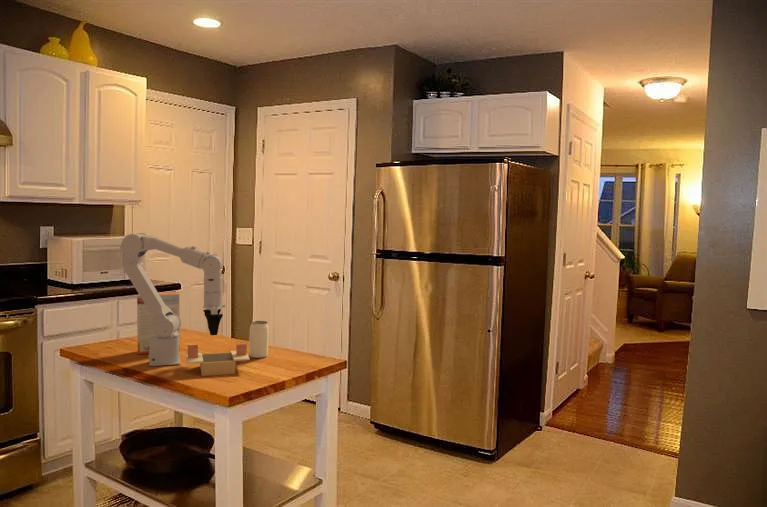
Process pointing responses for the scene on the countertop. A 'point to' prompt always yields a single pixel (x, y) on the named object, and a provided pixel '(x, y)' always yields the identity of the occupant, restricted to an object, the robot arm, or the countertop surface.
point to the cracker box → (145, 324)
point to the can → (258, 339)
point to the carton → (217, 364)
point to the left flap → (194, 355)
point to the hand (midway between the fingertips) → (212, 332)
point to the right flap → (240, 352)
